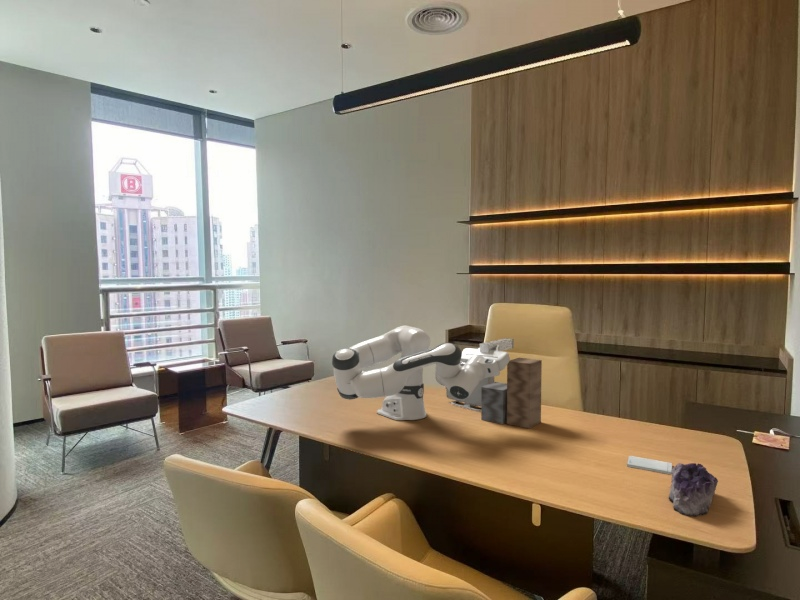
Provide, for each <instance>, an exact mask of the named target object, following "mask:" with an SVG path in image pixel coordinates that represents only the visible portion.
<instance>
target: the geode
mask: <svg viewBox="0 0 800 600" xmlns="http://www.w3.org/2000/svg"><path fill="white" fill-rule="evenodd" d="M671 473H672V475H671V486H670V491H669V495H668V500H669V501H671V502H672V505H673V506H672V508H673V511H675V512H677V513H679V514H681V515H682V516H685V517H690V518H691V517H692V518H693V517H695V518H696V517H698V516H699V517H700V516H705V515H706V514H708V513H709V512H708V511H709V510H710V506H711V505H712V503H713V497H714V495H715V493H716V491H717V490H716V489H717V485H718V482H719V480H718V478H717V477H716V476H714V475H713V474H712V473H710V472H708V470H707V468H706V467H704V465H703V464H701V463H696V462H694V463H692V462H691V463H687V464H684V463H681V462H678V463H677V464H675V466H674V467H672V470H671Z"/></svg>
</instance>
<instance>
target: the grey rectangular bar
mask: <svg viewBox="0 0 800 600" xmlns="http://www.w3.org/2000/svg"><path fill="white" fill-rule="evenodd" d="M496 345H499V346H500V350H499V351H502V352H505V351H508V350H513V349H514V348H515V347H514V338H509V337H508V338H505V337H504V338H500V339H495V340H491V341H486V342H481V343H479V347H480V352H484V353H489V351H490V350H493V351H494V350H495V348H494V347H495V346H496Z"/></svg>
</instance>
